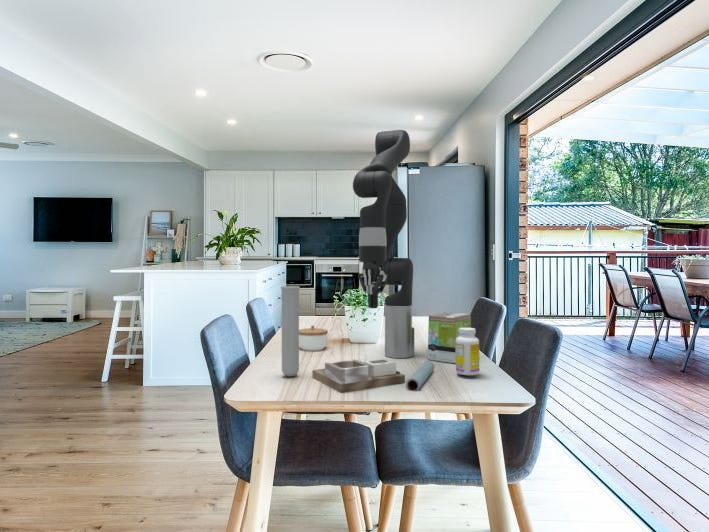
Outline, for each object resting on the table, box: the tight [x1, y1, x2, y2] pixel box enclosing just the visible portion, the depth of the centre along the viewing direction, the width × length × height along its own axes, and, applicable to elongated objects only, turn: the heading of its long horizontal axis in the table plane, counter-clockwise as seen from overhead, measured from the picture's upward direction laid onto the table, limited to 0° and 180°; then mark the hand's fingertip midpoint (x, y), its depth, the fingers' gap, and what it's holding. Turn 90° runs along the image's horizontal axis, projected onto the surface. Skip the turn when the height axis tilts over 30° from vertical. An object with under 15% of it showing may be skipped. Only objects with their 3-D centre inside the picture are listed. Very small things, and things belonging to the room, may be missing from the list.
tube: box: [280, 285, 301, 377], centre depth 124 cm, size 5×5×25 cm
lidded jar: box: [299, 325, 328, 352], centre depth 160 cm, size 11×11×9 cm
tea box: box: [427, 312, 472, 364], centre depth 150 cm, size 15×10×15 cm, turn 148°
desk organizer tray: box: [312, 359, 406, 393], centre depth 120 cm, size 19×17×6 cm
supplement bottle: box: [455, 327, 480, 376], centre depth 128 cm, size 7×7×13 cm
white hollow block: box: [363, 358, 397, 377], centre depth 119 cm, size 7×5×3 cm
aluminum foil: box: [405, 360, 435, 392], centre depth 121 cm, size 23×7×3 cm, turn 161°
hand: (372, 308), depth 122 cm, fingers closed
